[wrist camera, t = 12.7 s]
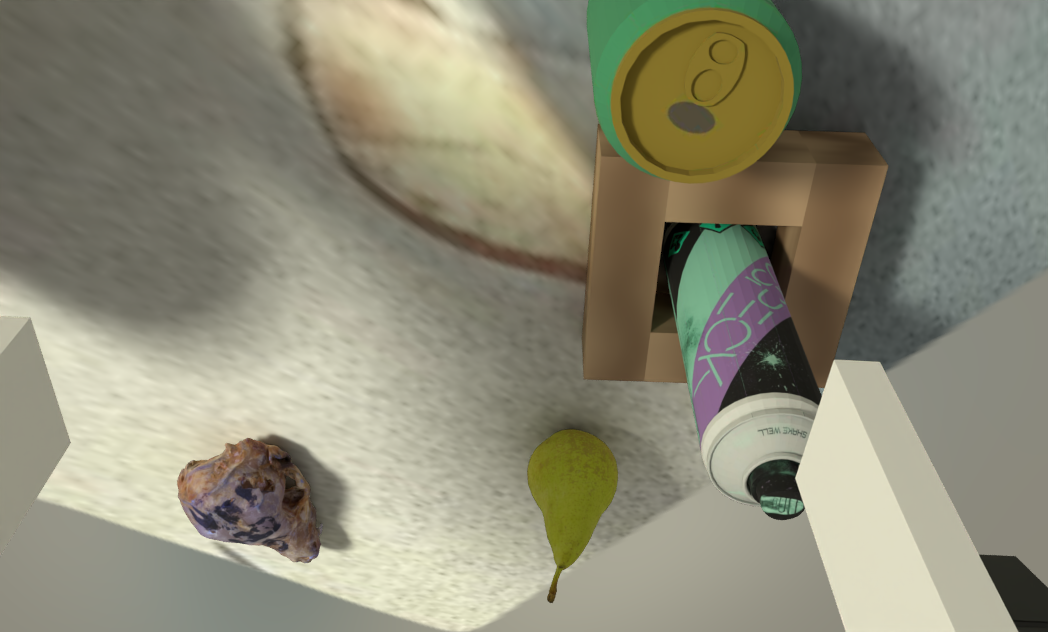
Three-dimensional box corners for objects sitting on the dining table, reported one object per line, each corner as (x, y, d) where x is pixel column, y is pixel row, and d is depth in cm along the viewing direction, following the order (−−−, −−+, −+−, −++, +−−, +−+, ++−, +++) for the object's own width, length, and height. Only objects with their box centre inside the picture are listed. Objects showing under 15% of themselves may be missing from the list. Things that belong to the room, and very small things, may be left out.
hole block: (581, 338, 55) (583, 379, 51) (597, 124, 47) (601, 156, 43) (809, 346, 55) (825, 387, 51) (864, 132, 47) (888, 165, 43)
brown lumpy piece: (350, 528, 65) (333, 597, 60) (257, 548, 67) (233, 617, 62) (273, 410, 59) (247, 476, 54) (173, 435, 61) (139, 502, 56)
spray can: (775, 255, 51) (880, 519, 35) (691, 299, 53) (753, 570, 36) (730, 184, 48) (820, 433, 32) (643, 233, 50) (687, 492, 34)
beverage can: (561, 56, 45) (563, 158, 35) (626, -106, 40) (649, -42, 31) (704, 110, 46) (745, 222, 36) (782, -41, 42) (852, 39, 32)
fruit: (623, 414, 58) (637, 561, 48) (603, 477, 62) (612, 625, 52) (537, 401, 58) (534, 545, 48) (521, 464, 61) (514, 612, 51)
